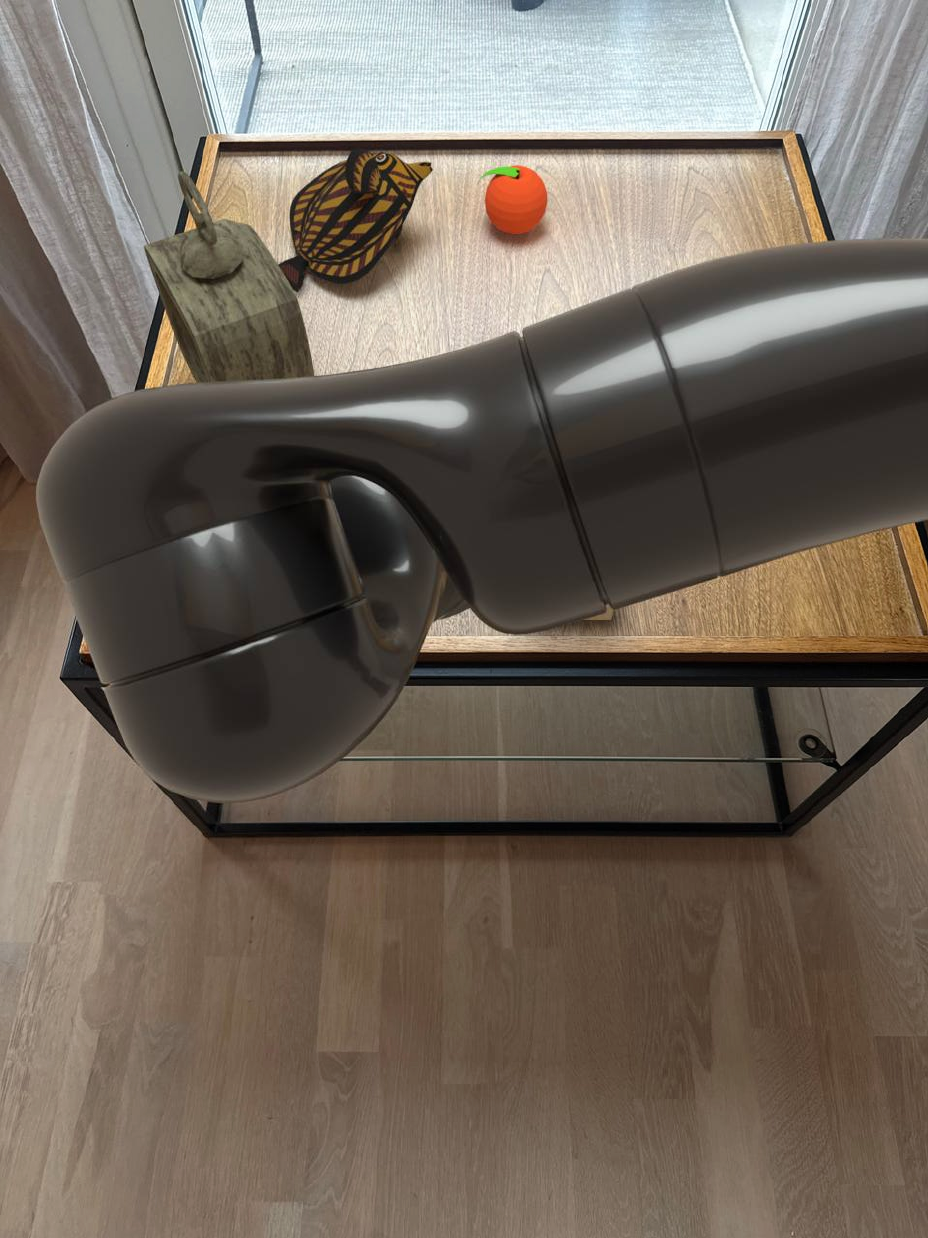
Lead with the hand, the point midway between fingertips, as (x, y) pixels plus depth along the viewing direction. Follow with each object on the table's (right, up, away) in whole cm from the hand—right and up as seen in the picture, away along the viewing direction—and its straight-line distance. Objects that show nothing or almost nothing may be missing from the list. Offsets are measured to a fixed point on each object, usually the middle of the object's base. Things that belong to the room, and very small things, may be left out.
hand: (531, 494), depth 54 cm
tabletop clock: (-24, +13, +37) cm, 46 cm away
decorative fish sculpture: (-16, +34, +49) cm, 61 cm away
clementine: (+1, +37, +51) cm, 63 cm away
